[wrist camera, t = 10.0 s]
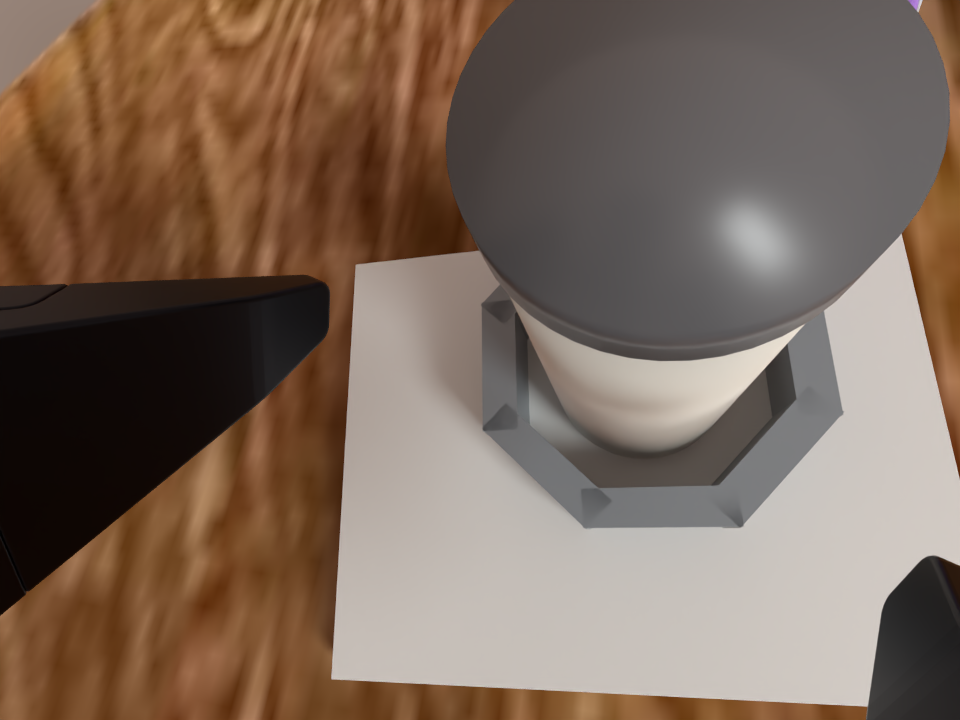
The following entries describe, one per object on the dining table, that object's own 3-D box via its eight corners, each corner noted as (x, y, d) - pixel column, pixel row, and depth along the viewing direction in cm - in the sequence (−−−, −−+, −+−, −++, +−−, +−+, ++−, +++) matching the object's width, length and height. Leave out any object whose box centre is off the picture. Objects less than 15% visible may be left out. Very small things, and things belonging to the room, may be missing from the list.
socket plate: (348, 670, 19) (288, 701, 16) (368, 277, 23) (324, 232, 20) (985, 700, 15) (1094, 750, 12) (878, 222, 19) (935, 155, 16)
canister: (600, 491, 18) (562, 421, 6) (526, 341, 19) (386, 62, 8) (767, 414, 17) (1082, 173, 5) (675, 268, 19) (762, -147, 7)
